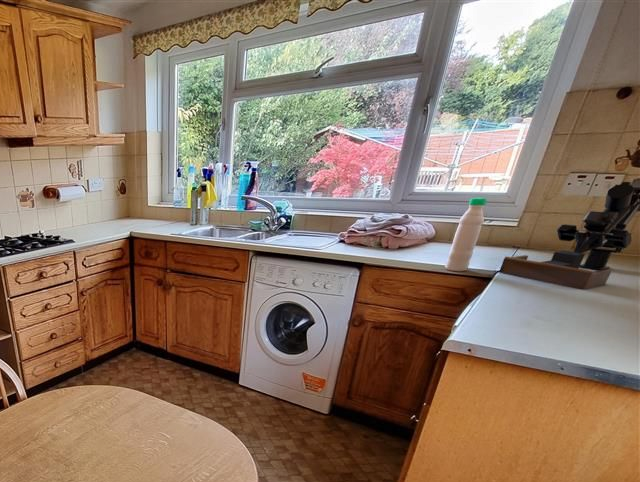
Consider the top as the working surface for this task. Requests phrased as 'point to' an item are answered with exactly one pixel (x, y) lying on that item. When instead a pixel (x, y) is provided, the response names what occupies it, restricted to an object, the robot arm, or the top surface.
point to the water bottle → (466, 236)
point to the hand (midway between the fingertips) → (574, 255)
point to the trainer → (566, 259)
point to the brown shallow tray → (554, 273)
